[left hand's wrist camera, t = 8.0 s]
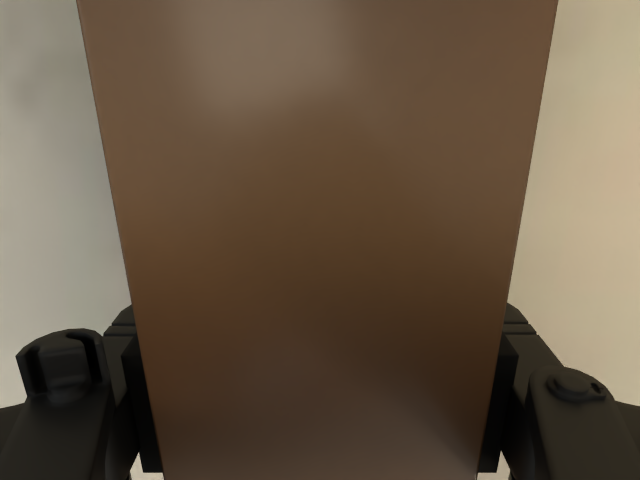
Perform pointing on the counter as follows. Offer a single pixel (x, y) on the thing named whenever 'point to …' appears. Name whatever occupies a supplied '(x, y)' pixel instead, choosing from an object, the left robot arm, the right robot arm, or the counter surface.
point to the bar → (318, 222)
